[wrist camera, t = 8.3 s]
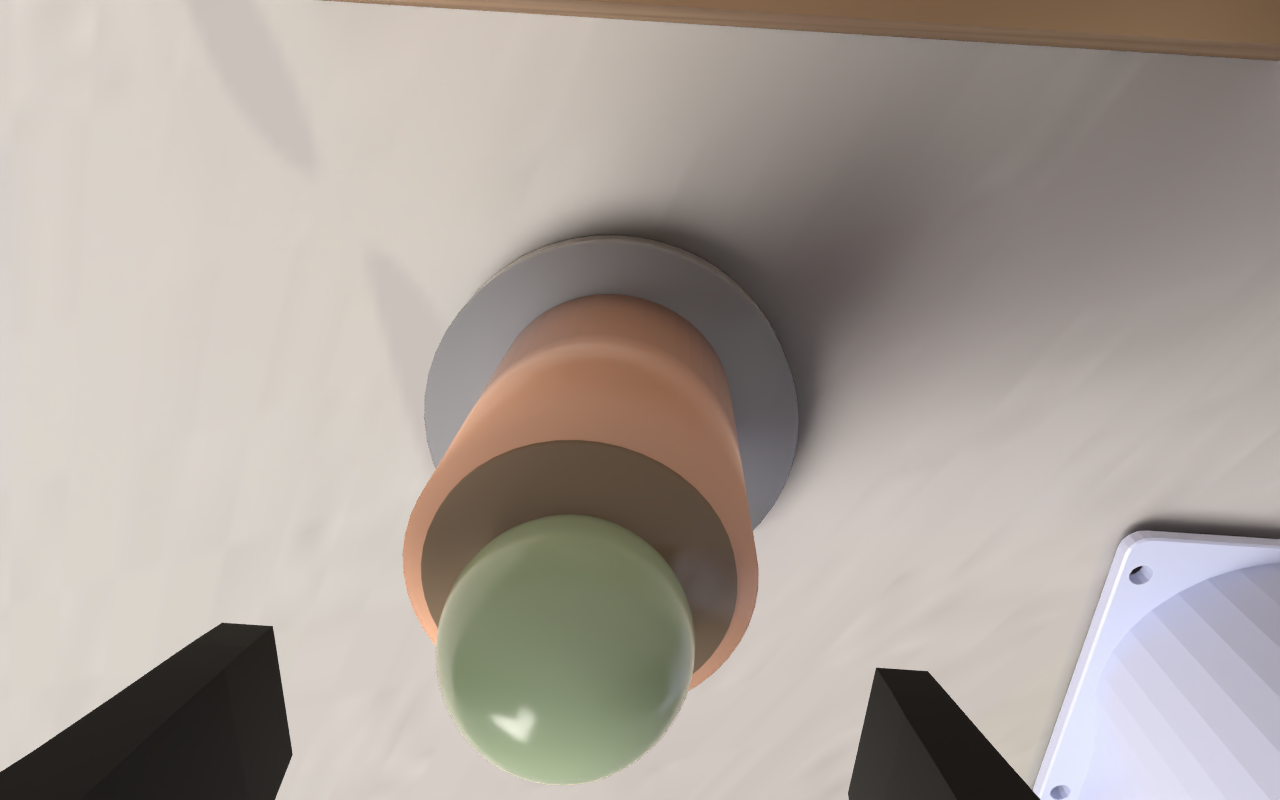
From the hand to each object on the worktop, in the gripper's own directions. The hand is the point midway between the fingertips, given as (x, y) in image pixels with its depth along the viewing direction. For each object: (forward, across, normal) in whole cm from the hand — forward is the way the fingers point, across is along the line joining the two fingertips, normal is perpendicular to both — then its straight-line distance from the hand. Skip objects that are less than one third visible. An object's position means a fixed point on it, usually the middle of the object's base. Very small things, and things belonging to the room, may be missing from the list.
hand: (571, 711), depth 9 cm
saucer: (+9, 0, 0) cm, 9 cm away
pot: (+8, 0, -1) cm, 8 cm away
